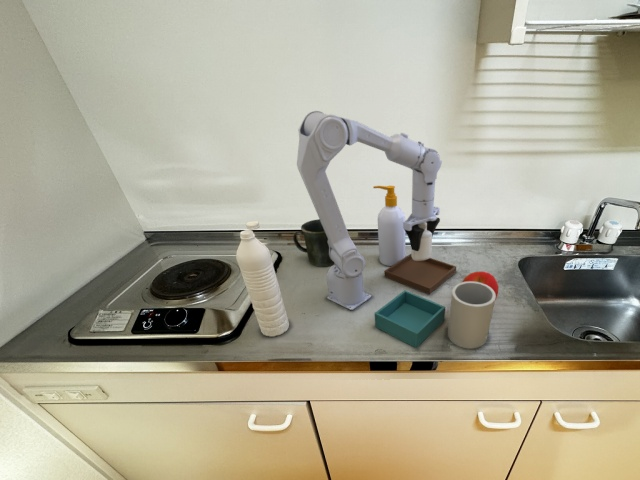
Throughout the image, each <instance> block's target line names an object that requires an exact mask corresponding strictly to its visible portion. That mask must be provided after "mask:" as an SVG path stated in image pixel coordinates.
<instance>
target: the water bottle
mask: <svg viewBox="0 0 640 480" xmlns="http://www.w3.org/2000/svg"><path fill="white" fill-rule="evenodd" d="M245 226H246V229H245V230H242V231H240V232H239V234H240V237H239V238H240V242H239V244H238V247H237V250H236V252H235V260H236V262H237V265H238V267H239V270H240V273H241V276H242V278H243V283H244V284H245V287H246V291H247V294H248V297H249V300H250V303H251V304H252V308H253V310H254V314H255V317H256V321H257V323H258V327H259V329H260V331H261V334H262V335H263V336H265V337H277V336H280V335H283V334H284V333H286V332H287V331H288V330H289V328H290V322H289V317H288V315H287V311H286V310H287V309H286V306H285V304H284V299H283V297H282V292H281V290H280V284H279V281H278V278H277V274H276V271H275V267H274V264H273V263H274V262H273V260H272V255H271V251H270V250H269V248H268V246H267V245H265V244H264V243H263V242H261V241H260V240H259V239H258V238H257V237H255V236H256V234H255V233H254V231H253V230H258V229H260V226H261V225H260V222H259V221H257V220H251V221H247V222H246V223H245Z"/></svg>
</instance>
